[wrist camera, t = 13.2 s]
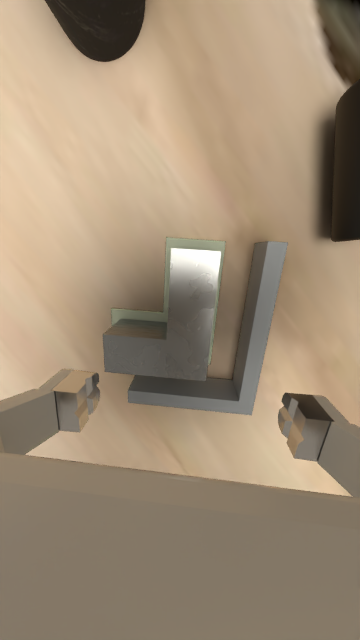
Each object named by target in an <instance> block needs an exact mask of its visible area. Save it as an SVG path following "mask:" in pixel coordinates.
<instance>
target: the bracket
mask: <svg viewBox="0 0 360 640" xmlns="http://www.w3.org/2000/svg"><path fill="white" fill-rule="evenodd" d="M220 258H221V251H207V250H192V249H177V248H171V262H170V283H169V303H168V322H158V321H146V320H133V319H120V320H119V321H117V322H116V323H115V324H114V325H113V326H112V327H111V328H109V329H108V330H107V331H106V332H105V333H104V334H103V346H104V365H105V372H112V373H123V374H133V375H144V376H154V377H165V378H175V379H186V380H197V381H206V376H207V368H208V359H209V351H210V342H211V334H212V325H213V317H214V308H215V300H216V292H217V283H218V275H219V266H220Z"/></svg>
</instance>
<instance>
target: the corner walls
mask: <svg viewBox="0 0 360 640" xmlns="http://www.w3.org/2000/svg"><path fill="white" fill-rule="evenodd" d="M287 245H288V243H286V242H271V241H267V242H261V243H255V247H254V253H253V259H252V265H251V271H250V278H249V284H248V290H247V296H246V302H245V308H244V314H243V320H242V326H241V332H240V338H239V344H238V350H237V356H236V362H235V368H234V374H233V380H229V379H218V378H208V377H206V381H197V380H186V379H175V378H165V377H154V376H144V375H135V377H134V379H133V381H132V383H131V385H130V387H129V389H128V403H137V404H147V405H156V406H166V407H176V408H186V409H196V410H205V411H215V412H225V413H235V414H245V415H252V411H253V406H254V402H255V397H256V392H257V387H258V383H259V378H260V373H261V368H262V364H263V359H264V354H265V349H266V345H267V340H268V335H269V330H270V326H271V321H272V316H273V311H274V307H275V302H276V297H277V292H278V288H279V283H280V278H281V273H282V269H283V264H284V259H285V254H286V250H287Z"/></svg>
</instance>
